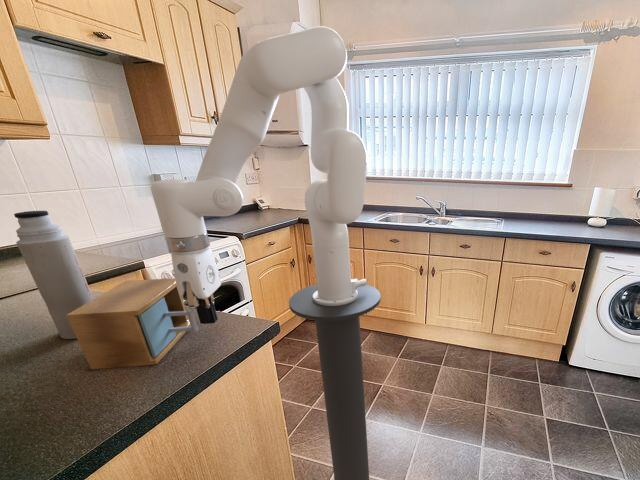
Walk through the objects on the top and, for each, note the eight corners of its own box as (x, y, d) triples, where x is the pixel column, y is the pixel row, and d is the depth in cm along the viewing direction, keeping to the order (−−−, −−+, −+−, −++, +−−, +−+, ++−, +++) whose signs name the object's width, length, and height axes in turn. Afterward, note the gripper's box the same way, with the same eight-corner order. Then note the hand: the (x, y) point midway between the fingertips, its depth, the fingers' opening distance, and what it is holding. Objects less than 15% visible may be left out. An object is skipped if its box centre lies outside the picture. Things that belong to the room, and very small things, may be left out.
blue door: (203, 333, 76) (192, 295, 72) (186, 354, 68) (173, 313, 64) (173, 335, 75) (161, 297, 72) (152, 357, 68) (137, 315, 64)
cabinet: (194, 323, 84) (181, 277, 79) (156, 364, 67) (137, 310, 63) (142, 326, 82) (125, 280, 77) (90, 369, 66) (65, 314, 61)
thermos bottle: (102, 319, 86) (56, 207, 74) (106, 330, 80) (57, 211, 69) (60, 330, 81) (4, 211, 69) (61, 342, 75) (0, 216, 64)
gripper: (191, 252, 63) (213, 337, 70) (221, 234, 77) (237, 307, 84) (148, 253, 62) (175, 339, 70) (186, 235, 76) (205, 308, 83)
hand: (209, 321), depth 77 cm, fingers closed
